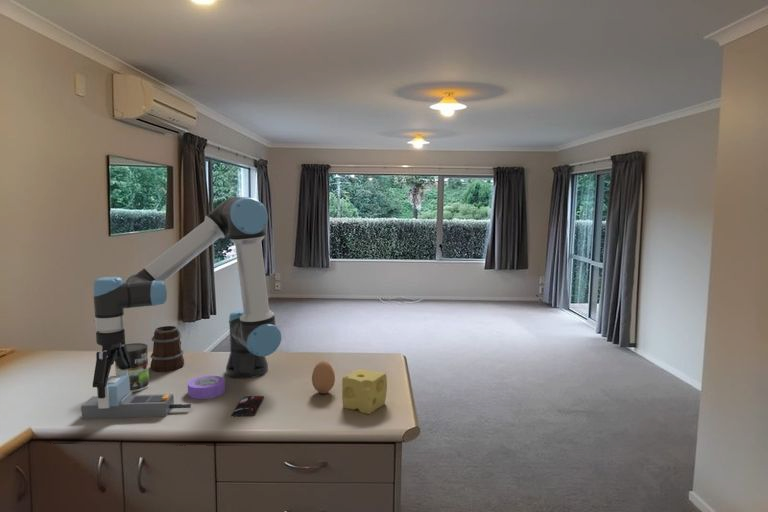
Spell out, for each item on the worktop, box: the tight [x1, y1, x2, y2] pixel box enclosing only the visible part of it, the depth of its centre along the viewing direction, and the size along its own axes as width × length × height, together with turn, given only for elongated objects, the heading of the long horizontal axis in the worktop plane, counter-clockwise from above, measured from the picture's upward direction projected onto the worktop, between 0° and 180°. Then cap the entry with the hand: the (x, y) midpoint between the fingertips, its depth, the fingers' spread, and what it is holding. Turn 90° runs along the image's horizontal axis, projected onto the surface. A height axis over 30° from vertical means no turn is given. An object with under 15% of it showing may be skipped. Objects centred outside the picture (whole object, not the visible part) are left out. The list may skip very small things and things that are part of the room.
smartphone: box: [230, 395, 265, 418], centre depth 160 cm, size 7×1×15 cm
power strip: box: [80, 392, 192, 420], centre depth 155 cm, size 30×7×5 cm, turn 95°
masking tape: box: [187, 375, 226, 400], centre depth 171 cm, size 12×12×4 cm
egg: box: [311, 360, 336, 394], centre depth 170 cm, size 8×8×11 cm
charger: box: [96, 375, 130, 406], centre depth 153 cm, size 6×9×6 cm, turn 5°
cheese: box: [341, 368, 388, 415], centre depth 160 cm, size 10×11×10 cm
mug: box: [149, 325, 185, 372], centre depth 197 cm, size 16×12×15 cm
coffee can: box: [114, 342, 150, 393], centre depth 174 cm, size 10×10×14 cm
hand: (114, 398), depth 154 cm, fingers open, 13 cm apart
